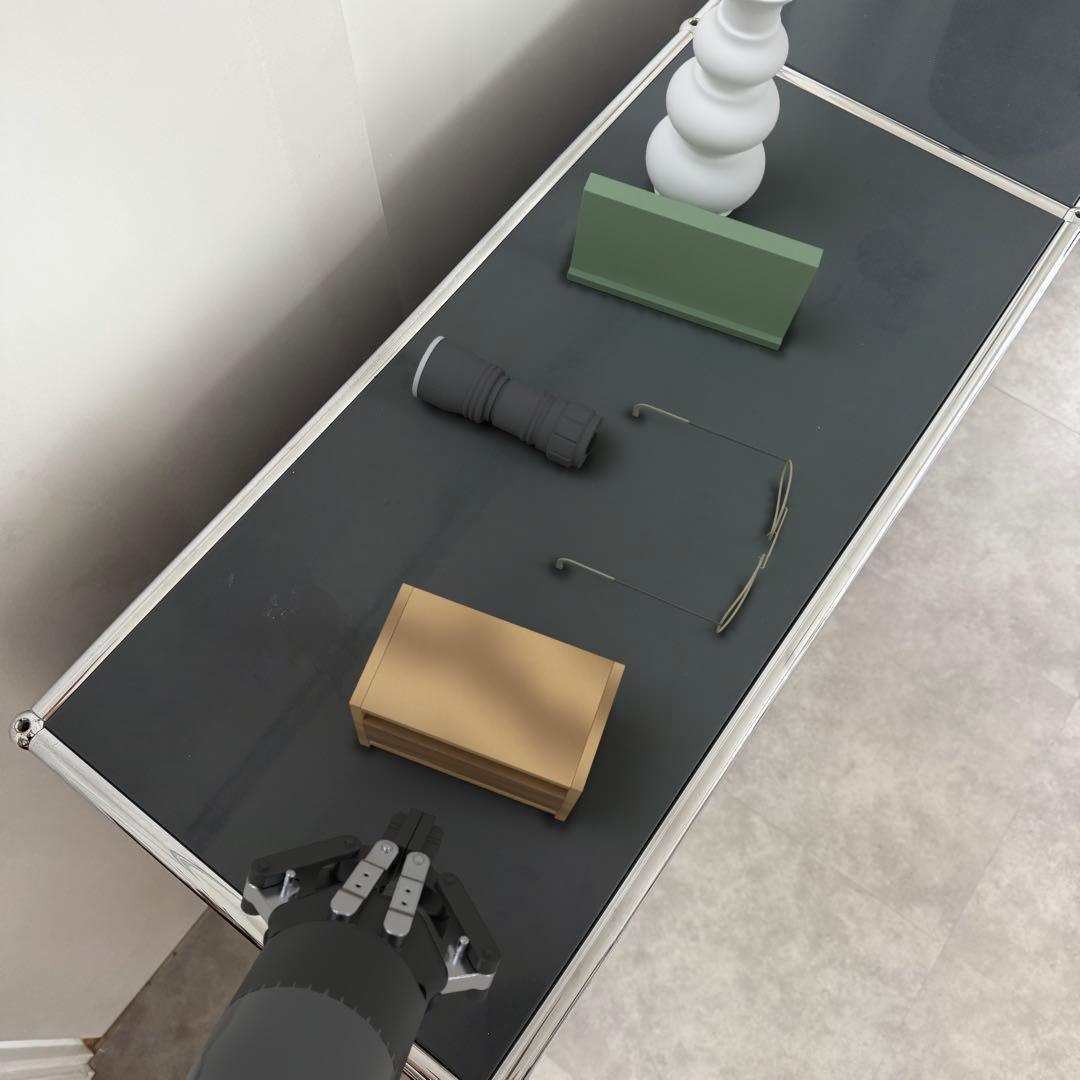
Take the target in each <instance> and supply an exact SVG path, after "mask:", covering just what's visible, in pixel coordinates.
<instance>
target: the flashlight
mask: <svg viewBox="0 0 1080 1080" xmlns="http://www.w3.org/2000/svg"><path fill="white" fill-rule="evenodd" d="M411 392H412V395H413V396H414V397H415V398H418V399H419V400H422V401H424V402H426V403H428V404H430V405H432V406H434V407H437V408H439V409H441V410H442V411H445V412H449V413H455V414H459V415H463V417H464V418H467V419H468V418H469V420H470V421H474V422H475V423H476V424H481V423H483V422H485V421H486V422H488V423H491V425H492V426H494V427H496V428H498V429H500V430H501V431H503V432H506V433H507V434H510V435H513V436H514V437H516V438H519V440H520V441H521V442H524V443H525V442H526V444H528V445H534V447H535V449H536V450H539V451H541V452H543V453H544V454H545V455H546V457H547V459H549V460H550V461H553V462H555V463H557V464H558V465H561V466H563V467H565V468H567V469H568V468H570V467H573V468H577V469H580V468H581V467H582V465H583V464H584V462H585V461H586V458H587V456H588V455H589V454H590V453H591V452H593V450H594V448H595V446H596V444H597V441H598V433H599V432H600V429H601V426H602V423H603V420H604V417H603V416H601V415H599V414H597V412H596V409H595V408H592V407H590V406H589V405H585V404H584V403H583V402H580V401H577V400H576V399H574V400H571V401H569V400H567V399H564V398H562V397H560V396H559V397H557V398H556V397H555V396H554V395H553V393H548V392H547V391H546V390H540V389H538V388H535V387H534V386H531V385H529V384H527V383H525V382H522V381H521V380H518V379H516V378H512V379H511V378H510V377H508V376H506V370H505V369H504V367H501V366H500V367H499V366H498V365H497V364H493V362H491V361H486V360H485V359H484V358H483V357H481V355H479V354H477V353H476V352H475V351H474V350H472V349H470V348H468V347H465V346H463V345H462V344H459V343H457V342H455V341H453V340H451V339H449V338H446V337H444V336H442V335H439V336H437V337H435V338H434V339H433V341H432V342H431V343H430V344H429V345H428V347H427V348H426V351H425V353H424V354H423V355H422V358H421V359H420V362H419V364H418V367H417V369H416V372H415V375H414V377H413V382H412V388H411Z"/></svg>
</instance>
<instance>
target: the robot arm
mask: <svg viewBox="0 0 1080 1080" xmlns="http://www.w3.org/2000/svg"><path fill="white" fill-rule="evenodd" d="M437 819H438V815H436V814H434V813H432V812H428V811H426V810H423V809H420V808H417V807H415V806H411V807H410V809H409V811H408V813H405V812H402V811H398V812H397V813H395V814H394V815H393V816H392V818H391V819H390V822H389V823H388V826H387V827H386V829H385V831H384V833H383V835H382V837H381V838H380V840H377V841H376V842H375V844H374V845H365V844H363V843H362V841H361V839H359V838H358V837H357V836H356V835H353V834H350V833H349V834H341V835H337V836H334V837H331V838H327V839H323V840H320V841H315V842H313V843H309V844H305V845H301V846H298V847H294V848H290V849H287V850H283V851H279V852H276V853H272V854H269V855H265V856H261V857H258V858H255V859H253V860H252V861H251V863H250V866H249V871H248V874H247V877H246V879H245V884H244V888H243V892H242V898H241V900H240V901H241V902H240V909H241V911H242V912H243V913H245V914H246V915H248V916H252V917H257V916H260V917H261V918H262V920H263V921H264V922H265V924H266V925H267V929H266V930H265V931H264V934H263V937H262V947H263V948H262V949H261V951H260V953H259V954H258V956H257V957H256V959H255V960H254V962H253V964H252V965H251V967H250V968H249V971H248V972H247V974H246V975H245V977H244V978H243V980H242V982H241V983H240V985H239V987H238V988H237V990H236V992H235V994H234V995H233V997H232V999H231V1000H230V1002H229V1003H228V1005H227V1006H226V1008H225V1010H224V1011H223V1013H222V1015H221V1016H220V1018H219V1020H218V1022H217V1023H216V1024H215V1026H214V1028H213V1030H212V1031H211V1033H210V1035H209V1036H208V1038H207V1040H206V1041H205V1043H204V1045H203V1046H202V1048H201V1049H200V1051H199V1053H198V1054H197V1056H196V1057H195V1059H194V1061H193V1063H192V1065H191V1067H190V1068H189V1070H188V1072H187V1075H186V1077H185V1079H184V1080H401V1078H402V1075H403V1073H404V1069H405V1068H406V1064H407V1061H408V1058H409V1056H410V1054H411V1051H412V1048H413V1045H414V1042H415V1039H416V1037H417V1034H418V1032H419V1029H420V1026H421V1023H422V1021H423V1019H424V1018H425V1017H426V1016H428V1014H430V1013H432V1012H434V1010H436V1008H438V1006H440V1003H441V1002H442V999H443V995H445V994H450V993H456V992H461V993H462V995H463V996H464V997H465V999H467V1000H469V1001H471V1002H472V1003H473V1002H474V1003H481V1002H483V1001H485V1000H486V998H487V996H488V993H489V991H490V988H491V986H492V983H493V980H494V978H495V975H496V973H497V969H498V967H499V964H500V962H501V959H502V952H501V950H500V948H499V946H498V945H497V943H496V941H495V939H494V938H493V935H492V934H491V932H490V930H489V929H488V927H487V925H486V923H485V922H484V920H483V919H482V916H481V915H480V913H479V911H478V909H477V907H476V906H475V904H474V902H473V901H472V899H471V896H470V895H469V893H468V891H467V890H466V887H465V886H464V884H463V882H462V881H461V879H460V877H459V876H457V875H456V874H455V873H452V872H449V871H443V872H440V873H439V872H438V871H436V869H435V867H433V864H434V862H435V860H436V858H437V856H438V854H439V850H440V847H441V844H442V841H443V838H444V835H445V833H444V828H443V826H440V825H436V822H437ZM329 865H330V866H329ZM326 866H328V867H326ZM324 867H325V868H324ZM391 881H393V882H396V886H395V888H394V892H393V895H392V896H390V895H385V892H386V891H387V888H388V885H389V884H390V883H391ZM417 907H418V908H420V909H421V910H422V911H424V915H422V914H421V912H419V911H418V910H417ZM442 955H443V956H442Z"/></svg>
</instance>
